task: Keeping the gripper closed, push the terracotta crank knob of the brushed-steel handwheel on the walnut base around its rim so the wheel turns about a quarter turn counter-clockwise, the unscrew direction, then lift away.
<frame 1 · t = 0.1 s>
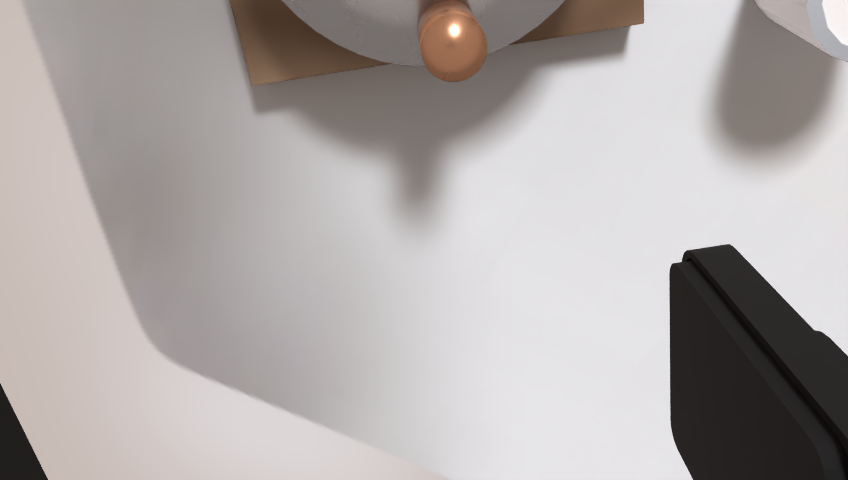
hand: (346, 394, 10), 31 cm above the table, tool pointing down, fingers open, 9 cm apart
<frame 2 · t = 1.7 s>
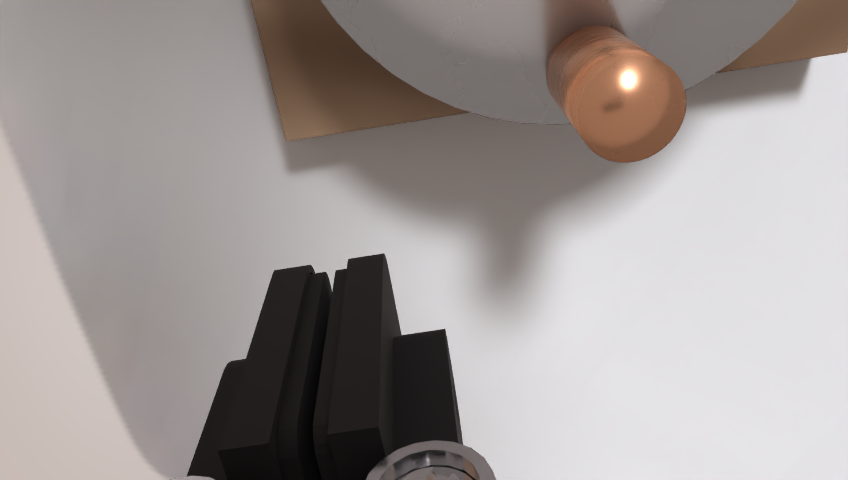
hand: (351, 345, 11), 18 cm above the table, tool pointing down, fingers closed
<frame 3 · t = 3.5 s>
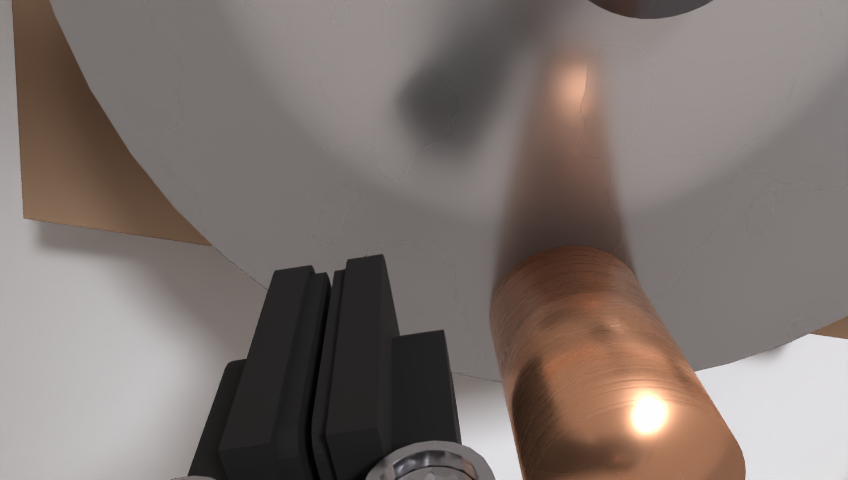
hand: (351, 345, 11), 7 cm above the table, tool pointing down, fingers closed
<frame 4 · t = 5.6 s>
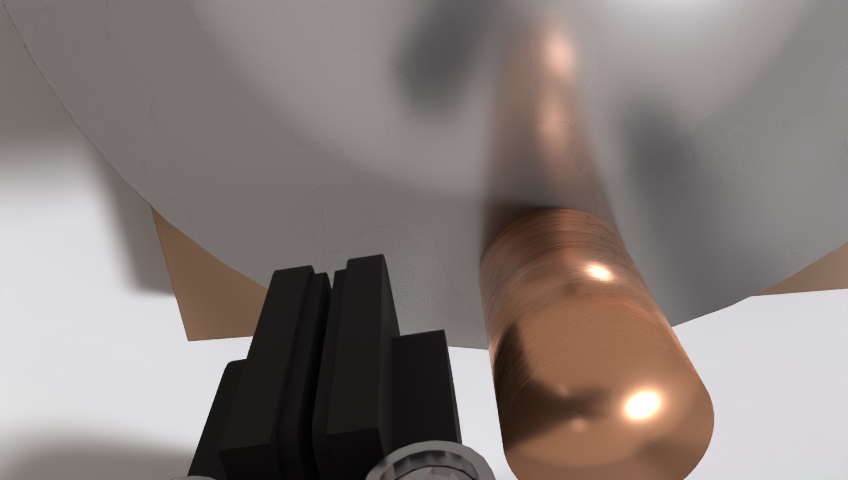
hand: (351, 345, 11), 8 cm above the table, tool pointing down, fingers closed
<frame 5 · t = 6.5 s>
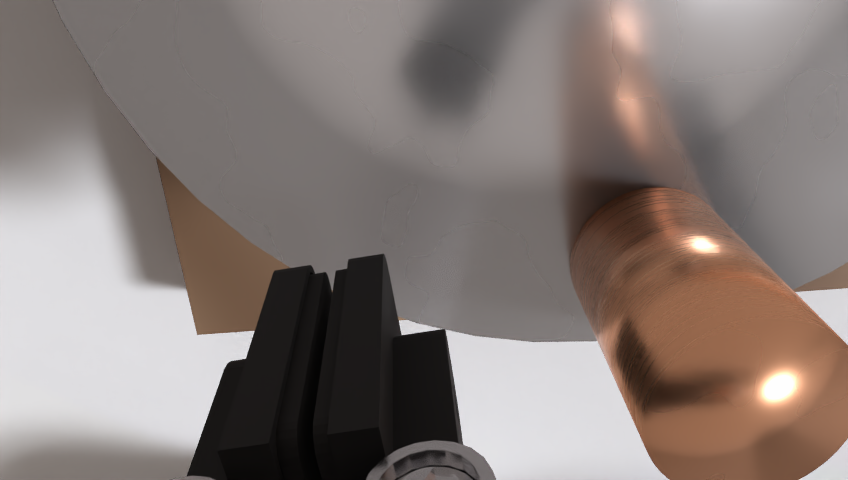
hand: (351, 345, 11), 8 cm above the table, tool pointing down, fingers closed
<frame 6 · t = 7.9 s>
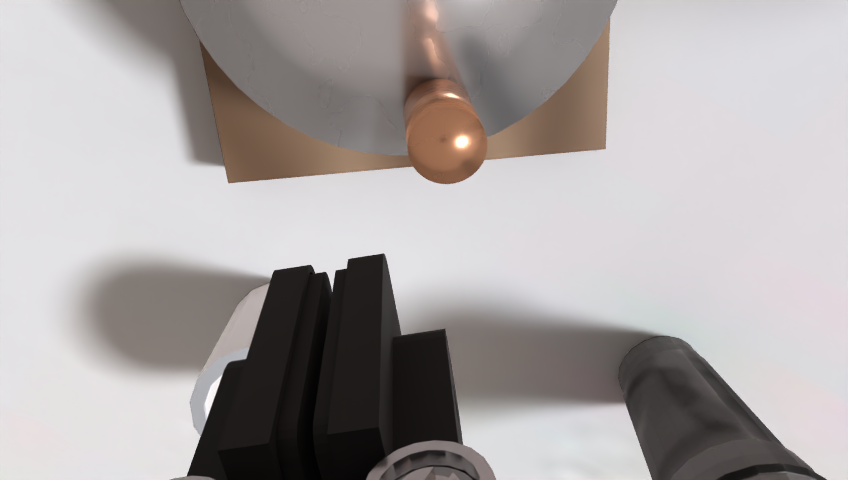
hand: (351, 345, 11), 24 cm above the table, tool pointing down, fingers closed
beverage cup: (656, 368, 41), on the table
white faceted cup: (287, 326, 38), on the table
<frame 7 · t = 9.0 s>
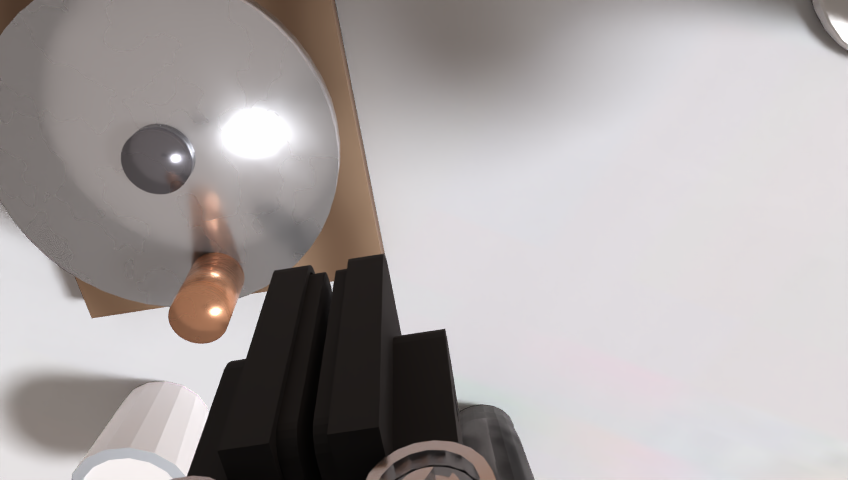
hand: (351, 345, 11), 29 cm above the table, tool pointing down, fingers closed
beverage cup: (480, 429, 49), on the table
handwheel: (153, 165, 32), point 8 cm above the table, hinge at 97.1°
wheel base: (196, 116, 39), on the table
white faceted cup: (167, 414, 48), on the table
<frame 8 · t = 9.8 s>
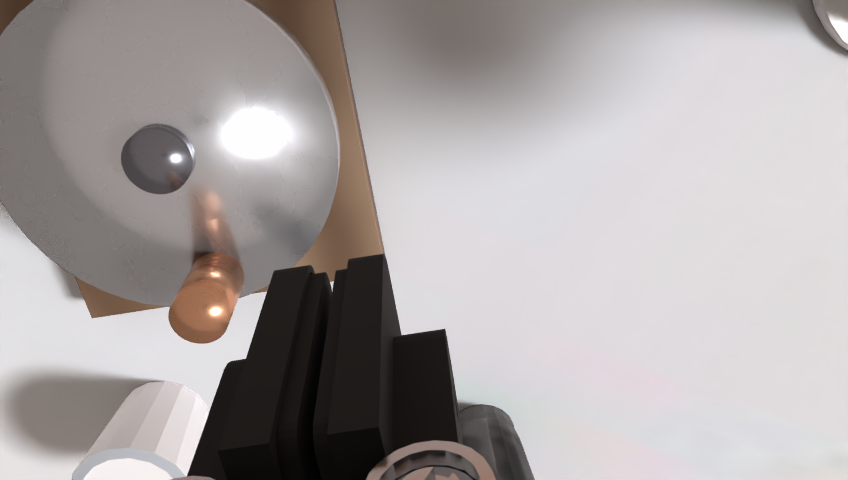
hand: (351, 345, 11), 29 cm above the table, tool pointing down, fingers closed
beverage cup: (480, 429, 49), on the table
handwheel: (153, 165, 32), point 8 cm above the table, hinge at 97.1°
wheel base: (196, 116, 39), on the table
white faceted cup: (167, 414, 48), on the table
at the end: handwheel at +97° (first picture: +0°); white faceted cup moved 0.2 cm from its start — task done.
